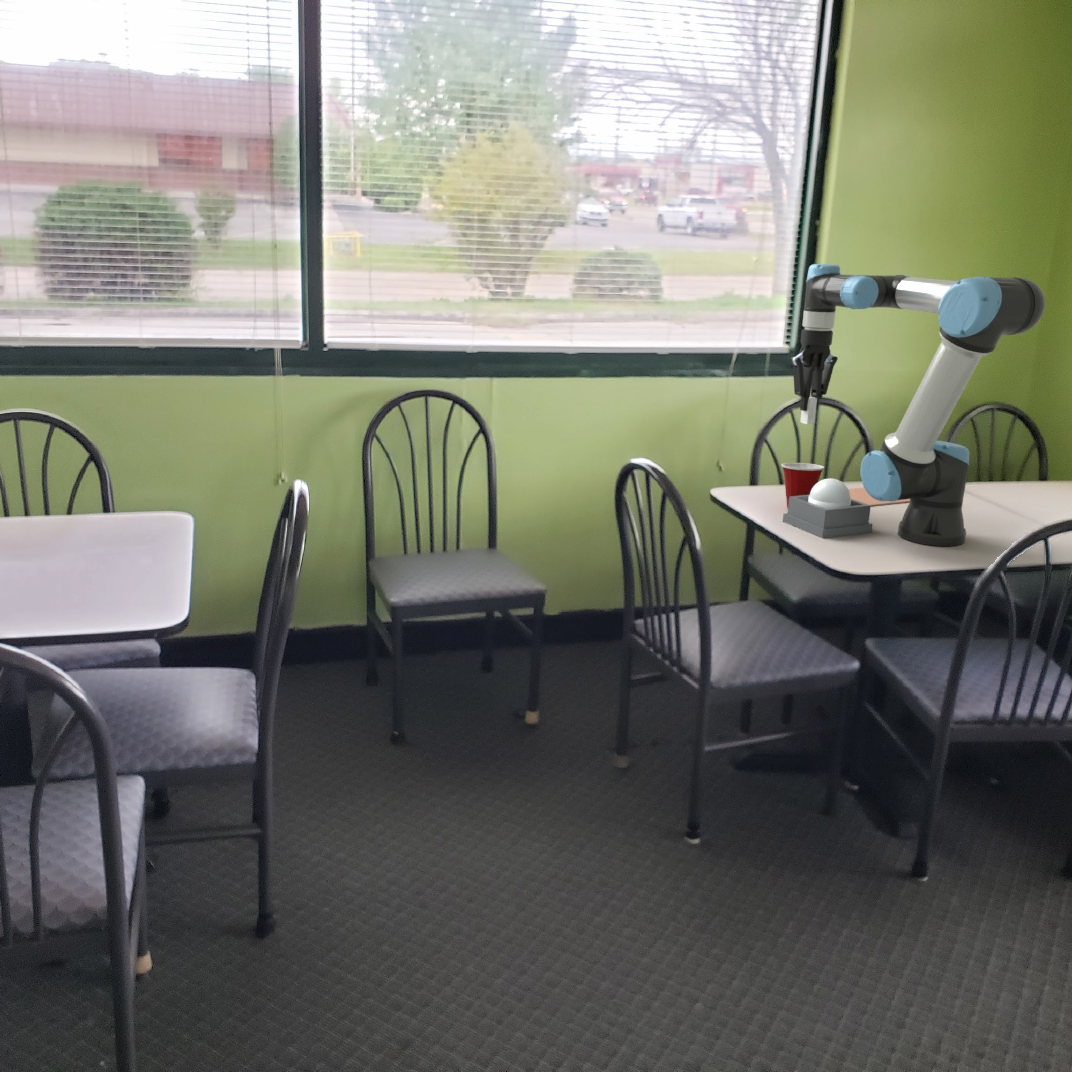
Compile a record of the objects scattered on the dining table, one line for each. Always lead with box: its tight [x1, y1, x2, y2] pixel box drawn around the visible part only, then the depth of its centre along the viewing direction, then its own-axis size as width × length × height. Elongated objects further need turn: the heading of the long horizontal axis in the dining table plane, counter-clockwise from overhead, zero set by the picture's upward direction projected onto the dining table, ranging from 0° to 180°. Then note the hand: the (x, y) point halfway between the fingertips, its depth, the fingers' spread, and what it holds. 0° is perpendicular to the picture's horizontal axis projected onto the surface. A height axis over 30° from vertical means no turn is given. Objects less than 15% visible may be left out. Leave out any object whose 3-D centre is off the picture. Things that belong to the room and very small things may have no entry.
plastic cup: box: [781, 462, 825, 509], centre depth 265 cm, size 11×11×12 cm
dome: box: [808, 478, 851, 509], centre depth 249 cm, size 10×10×10 cm
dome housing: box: [782, 495, 873, 539], centre depth 250 cm, size 15×15×6 cm
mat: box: [848, 487, 910, 507], centre depth 281 cm, size 16×16×1 cm
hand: (807, 423), depth 260 cm, fingers closed
